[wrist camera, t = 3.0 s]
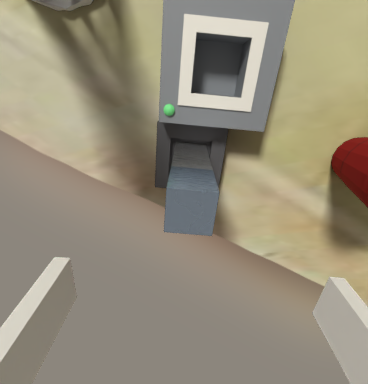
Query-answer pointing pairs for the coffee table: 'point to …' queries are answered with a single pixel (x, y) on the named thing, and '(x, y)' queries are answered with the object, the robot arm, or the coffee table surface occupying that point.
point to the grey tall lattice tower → (64, 4)
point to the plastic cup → (353, 166)
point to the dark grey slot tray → (187, 134)
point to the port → (221, 61)
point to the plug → (191, 191)
